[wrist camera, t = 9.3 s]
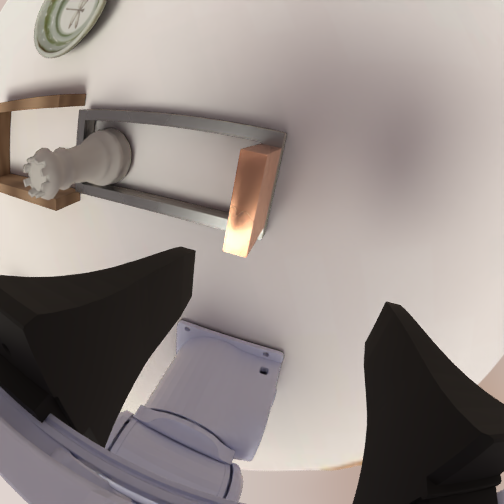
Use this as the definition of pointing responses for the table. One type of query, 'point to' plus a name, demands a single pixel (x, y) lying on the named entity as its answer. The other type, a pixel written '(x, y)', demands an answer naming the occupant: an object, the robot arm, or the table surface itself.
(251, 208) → the frame
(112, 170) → the rook chess piece
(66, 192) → the walnut lane
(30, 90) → the table surface
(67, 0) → the saucer
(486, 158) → the table surface
